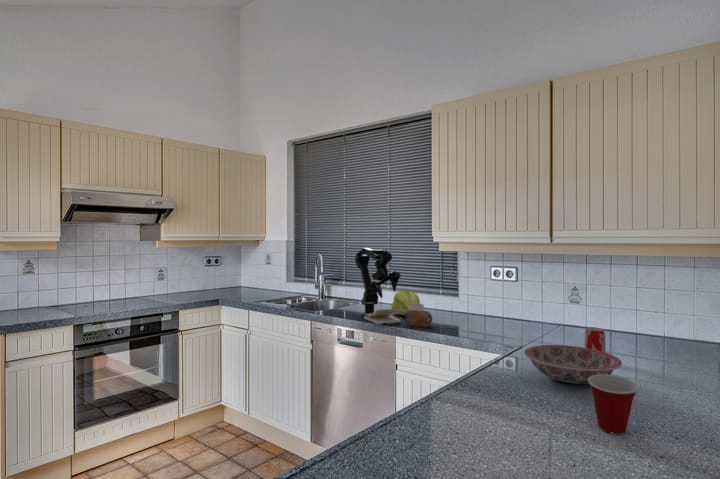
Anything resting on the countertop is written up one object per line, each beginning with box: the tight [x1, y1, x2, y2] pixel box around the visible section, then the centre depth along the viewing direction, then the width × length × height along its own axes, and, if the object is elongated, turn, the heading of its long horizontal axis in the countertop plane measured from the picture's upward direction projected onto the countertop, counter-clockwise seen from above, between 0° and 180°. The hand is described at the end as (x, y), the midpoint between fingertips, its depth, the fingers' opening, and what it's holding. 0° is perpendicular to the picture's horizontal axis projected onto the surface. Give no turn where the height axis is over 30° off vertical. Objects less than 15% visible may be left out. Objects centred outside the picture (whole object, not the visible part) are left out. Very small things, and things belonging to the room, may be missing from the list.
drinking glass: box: [412, 303, 425, 311], centre depth 238 cm, size 7×7×10 cm
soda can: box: [584, 326, 606, 353], centre depth 167 cm, size 7×7×12 cm
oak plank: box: [368, 308, 399, 317], centre depth 243 cm, size 14×13×2 cm
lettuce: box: [390, 290, 421, 316], centre depth 259 cm, size 17×24×14 cm
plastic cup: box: [588, 374, 639, 434], centre depth 107 cm, size 11×11×12 cm
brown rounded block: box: [403, 310, 433, 328], centre depth 230 cm, size 15×3×8 cm, turn 62°
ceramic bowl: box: [523, 344, 623, 385], centre depth 144 cm, size 29×29×8 cm
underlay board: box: [363, 313, 402, 325], centre depth 245 cm, size 18×14×3 cm
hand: (388, 294), depth 238 cm, fingers open, 9 cm apart
